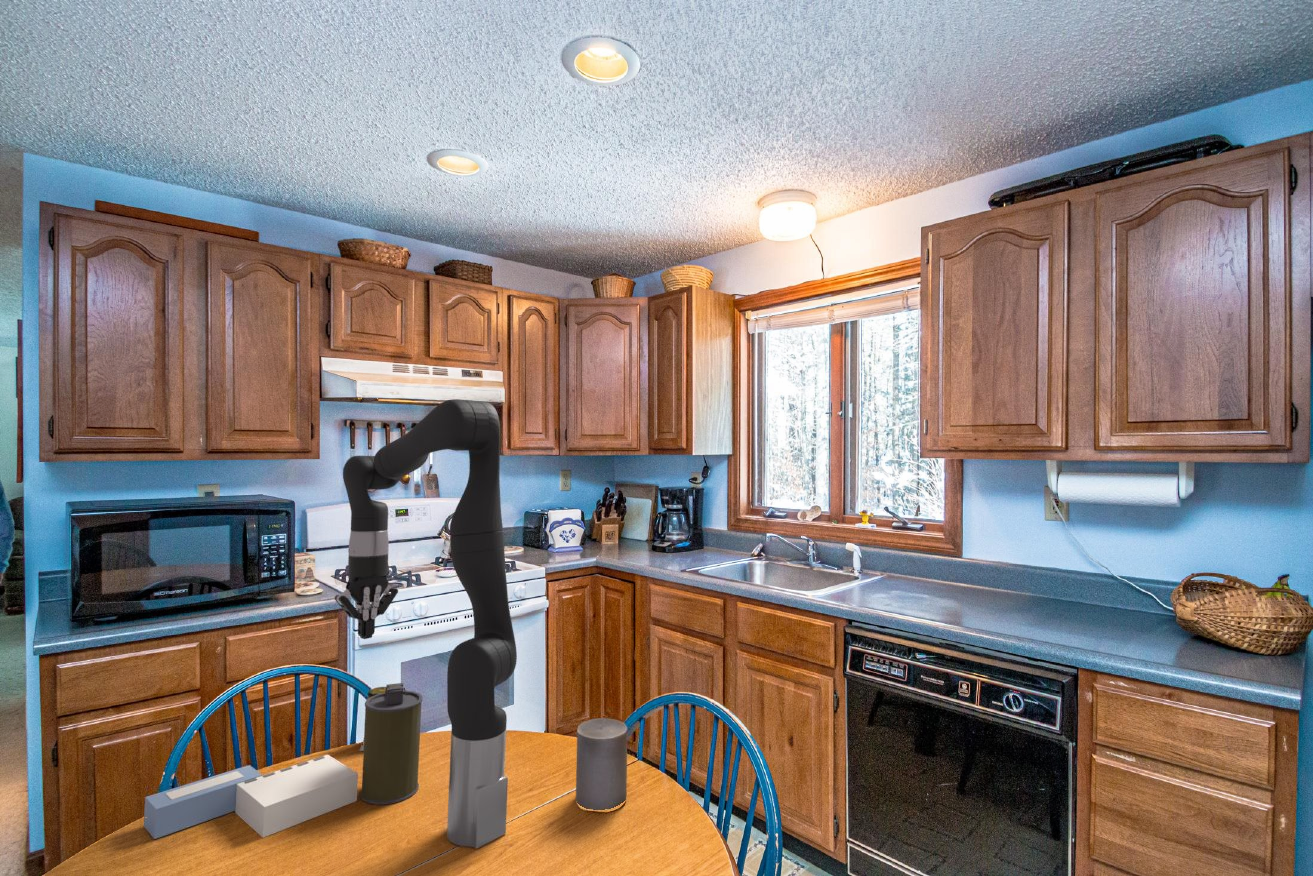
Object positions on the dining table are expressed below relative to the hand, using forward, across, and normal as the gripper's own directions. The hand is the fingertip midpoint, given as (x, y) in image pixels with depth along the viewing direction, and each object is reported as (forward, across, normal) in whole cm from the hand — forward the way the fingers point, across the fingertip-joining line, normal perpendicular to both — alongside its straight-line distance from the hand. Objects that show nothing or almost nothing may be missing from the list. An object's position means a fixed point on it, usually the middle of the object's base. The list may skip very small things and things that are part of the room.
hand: (366, 637), depth 132 cm
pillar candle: (+29, +24, -44) cm, 57 cm away
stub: (+27, -25, +7) cm, 38 cm away
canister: (+28, 0, -10) cm, 29 cm away
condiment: (+27, +10, +12) cm, 31 cm away
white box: (+27, -14, -3) cm, 31 cm away
